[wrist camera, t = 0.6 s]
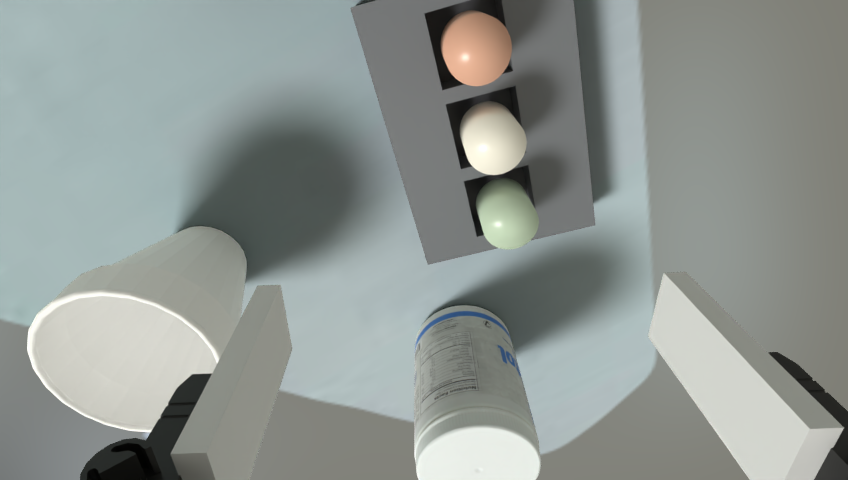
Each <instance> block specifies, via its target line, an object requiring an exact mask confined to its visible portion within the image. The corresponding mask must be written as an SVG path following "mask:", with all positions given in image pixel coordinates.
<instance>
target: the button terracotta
mask: <svg viewBox="0 0 848 480" xmlns="http://www.w3.org/2000/svg"><path fill="white" fill-rule="evenodd" d="M441 52H442V56H443V58H444V60H445V62H446V65H447V67H448V69H449V71H450V72H451V74H452V75H453V76H454V77H455V78H456V79H457V80H458V81H460V82H462V83H464V84H466V85H470V86H482V85H486V84H489V83H491V82H493V81H495V80H496V79H497V78H498V77H500V76H501V75H502V73H503V72H504V71H505V69H506V68H507V66H508V64H509V61H510V58H511V53H512V43H511V38H510V35H509V33H508V31H507V29H506V27H505V26H504V25H503V24H502V23H501V22H500V21H499V20H498V19H496V18H494V17H492V16H490V15H488V14H485V13H483V12H480V11H475V10H469V11H464V12H461V13H459V14H457V15H456V16H454V17H453V18H452V19H451V20H450V21H449V22H448V23H447V25H446V26H445V28H444V30H443V33H442V36H441Z"/></svg>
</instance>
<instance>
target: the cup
mask: <svg viewBox="0 0 848 480" xmlns="http://www.w3.org/2000/svg"><path fill="white" fill-rule="evenodd" d="M246 271H247V259H246V257H245V254H244V251H243V250H242V248H241V247H240V245H239V244H238V243H237V242H236V241H235V240H234V239H233V238H232V237H231V236H229V235H228V234H226V233H224V232H223V231H221V230H218V229H215V228H212V227H205V226H195V227H189V228H187V229H184V230H182V231H180V232H178V233H176V234H174V235H171V236H169V237H167V238H165V239H163V240H161V241H159V242H157V243H155V244H153V245H151V246H149V247H147V248H145V249H143V250H141V251H139V252H137V253H135V254H133V255H131V256H129V257H127V258H125V259H123V260H121V261H119V262H116V263H114V264H112V265H107V266H101V267H98V268H96V269H93V270H91V271H88V272H85V273H83V274H81V275H80V276H78V277H77V278H76V279H75V280H74V281H72V282H71V283H70V284H69V285H68V286H66V287H65V288H64V290H63V291H62V292H61V293H60V294H59V295H58V296H57V297H56V298H55V299H54V300H53V301H51V302H50V303H49V304H48V305H47V306H45V307H44V308H43V309H42V310H41V311H39V312H38V313H37V315H36V317H35V319H34V321H33V323H32V325H31V327H30V328H29V330H28V343H27V350H28V354H29V356H30V360H31V363H32V366H33V369H34V371H35V372H36V374H37V375H38V376H39V378H40V379H41V381H42V382H43V384H44V385H45V387H46V388H47V389H48V390H50V391H51V392H52V393H53V394H54V395H55V396H56V397H57V398H58V399H59V400H60V401H61V402H63V403H64V404H66V405H67V406H69V407H70V408H72V409H74V410H75V411H77V412H78V413H80V414H82V415H83V416H86V417H88V418H91V419H93V420H95V421H98V422H100V423H102V424H105V425H109V426H112V427H117V428H121V429H125V430H129V431H141V432H151V431H152V429H153V428H154V426H155V424H156V423H157V421H158V419H160V418H161V414H162V412H163V411H164V409H165V407H166V406H168V402H169V401H170V399H171V397H172V395H173V394H174V392H175V390H176V389H177V387H178V386H180V385H181V384H182V383H183V382H184V381H185V380H186V379H187V378H189V377H190V376H191V375H192V374H211V373H213V371H214V369H215V367H216V365H217V363H218V361H219V359H220V357H221V355H222V353H223V352H224V350H225V348H226V346H227V344H228V342H229V340H230V338H231V336H232V334H233V332H234V330H235V328H236V326H237V325H238V323H239V321H240V319H241V312H242V304H243V296H244V288H245V280H246Z"/></svg>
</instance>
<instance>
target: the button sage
mask: <svg viewBox="0 0 848 480" xmlns="http://www.w3.org/2000/svg"><path fill="white" fill-rule="evenodd" d="M476 209H477V212H478V216H479V219H480V223H481V226H482V229H483V233H484V236H485V238H486V239H487V240H488V242H489V243H491V244H492V245H493V246H495V247H497V248H501V249H516V248H519V247H521V246H523V245H525V244H527V243H528V242H529V241H530V240H531V239H532V238H533V237H534V235H535V234H536V232H537V229H538V226H539V218H538V214H537V212H536V210H535V208H534V206H533V205H532V203H531V201H530V199H529V197H528V196H527V194H526V192H525V190H524V188H523V187H522V186H521V185H520V184H519V183H518V182H516V181H514V180H512V179H508V178H499V179H495V180H492V181H490V182H488V183H487V184H485V185H484V186H483V187H482V188H481V190H480V191H479V193H478V195H477V198H476Z"/></svg>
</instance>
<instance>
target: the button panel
mask: <svg viewBox="0 0 848 480" xmlns="http://www.w3.org/2000/svg"><path fill="white" fill-rule="evenodd" d="M469 10H475V11H480V12H483V13H485V14H488V15H490V16H492V17H494V18H496V19H498V20H499V21H500V22H501V23H502V24H503V25H504V26H505V27H506V29H507V31H508V33H509V35H510V38H511V43H512V53H511V58H510V61H509V64H508V66H507V68H506V69H505V71H504V72H503V73H502V75H501V76H500V77H498V78H497V79H496V80H495V81H493V82H491V83H489V84H486V85H482V86H470V85H466V84H464V83H462V82H460V81H458V80H457V79H456V78H455V77H454V76H453V75H452V74H451V72H450V71H449V69H448V67H447V65H446V62H445V60H444V58H443V56H442V52H441V36H442V33H443V30H444V28H445V26H446V25H447V23H448V22H449V21H450V20H451V19H452V18H453V17H454V16H456V15H457V14H459V13H461V12H464V11H469ZM351 12H352V15H353V18H354V21H355V25H356V28H357V31H358V35H359V38H360V41H361V45H362V48H363V51H364V55H365V58H366V61H367V65H368V68H369V71H370V74H371V78H372V81H373V84H374V88H375V91H376V94H377V98H378V101H379V104H380V108H381V111H382V114H383V118H384V121H385V124H386V127H387V131H388V134H389V137H390V141H391V144H392V147H393V151H394V154H395V157H396V161H397V164H398V167H399V171H400V174H401V177H402V180H403V184H404V187H405V190H406V194H407V197H408V200H409V204H410V207H411V210H412V214H413V217H414V220H415V224H416V227H417V230H418V233H419V237H420V240H421V243H422V247H423V250H424V253H425V257H426V260H427V263H428V264H433V263H437V262H441V261H445V260H450V259H454V258H458V257H462V256H467V255H471V254H475V253H479V252H484V251H488V250H492V249H496V248H497V247H495V246H493V245H492V244H491V243H489V242H488V240H487V239H486V238H485V236H484V233H483V229H482V226H481V223H480V219H479V216H478V212H477V209H476V198H477V195H478V193H479V191H480V190H481V188H482V187H483V186H484V185H485V184H487V183H488V182H490V181H492V180H495V179H499V178H508V179H512V180H514V181H516V182H518V183H519V184H520V185H521V186H522V187H523V188H524V190H525V192H526V194H527V196H528V197H529V199H530V201H531V203H532V205H533V206H534V208H535V210H536V212H537V214H538V218H539V226H538V229H537V232H536V234H535V235H534V237H533V238H532V239H531V240H534V239H539V238H543V237H547V236H551V235H556V234H560V233H564V232H568V231H573V230H577V229H581V228H585V227H589V226H594V225H595V218H594V207H593V197H592V186H591V176H590V165H589V155H588V144H587V134H586V123H585V113H584V103H583V92H582V82H581V71H580V61H579V50H578V40H577V29H576V19H575V8H574V0H374V1H371V2H367V3H364V4H360V5H357V6H354V7H352V8H351ZM485 101H493V102H497V103H500V104H502V105H503V106H505V107H506V108H507V109H508V110H509V111H510V112H511V114H512V115H513V116H514V118H515V119H516V120H517V122H518V123H519V124H520V125H521V127H522V128H523V130H524V132H525V135H526V141H527V144H526V151H525V154H524V156H523V158H522V159H521V161H520V162H519V163H518V165H517V166H516V167H514V168H513V169H512V170H510V171H508V172H506V173H503V174H499V175H488V174H484V173H481V172H479V171H478V170H476V169H475V168H474V167H473V166H472V165H471V164H470V162H469V161H468V158H467V156H466V153H465V150H464V147H463V144H462V140H461V137H460V124H461V120H462V118H463V116H464V115H465V113H466V112H467V111H468V110H469V109H470V108H471V107H473V106H474V105H476V104H478V103H481V102H485Z"/></svg>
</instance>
